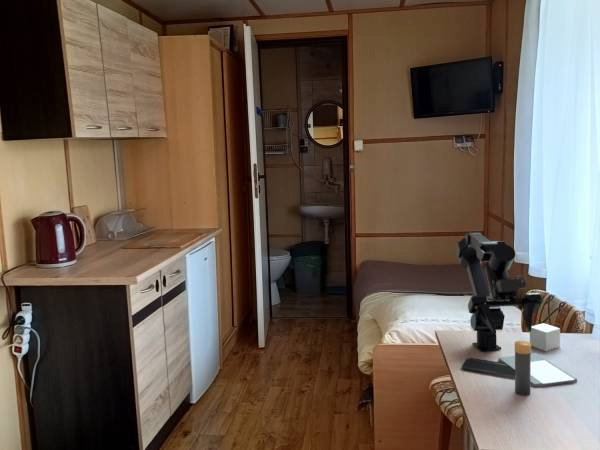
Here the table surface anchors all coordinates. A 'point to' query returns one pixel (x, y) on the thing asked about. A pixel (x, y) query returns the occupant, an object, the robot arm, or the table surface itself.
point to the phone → (488, 368)
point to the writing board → (542, 371)
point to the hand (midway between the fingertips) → (512, 331)
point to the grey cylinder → (522, 367)
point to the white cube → (545, 337)
